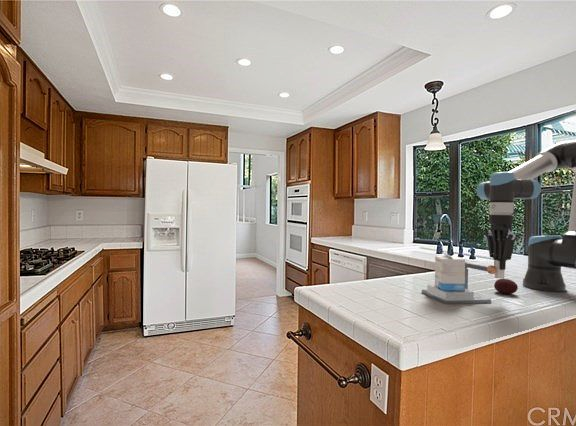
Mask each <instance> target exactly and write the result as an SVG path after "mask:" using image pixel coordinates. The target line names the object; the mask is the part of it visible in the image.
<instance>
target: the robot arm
mask: <svg viewBox="0 0 576 426" xmlns="http://www.w3.org/2000/svg"><path fill="white" fill-rule="evenodd" d="M567 168H570V171H572V172H573V173H574V180H573V181H574V182H573V188H572V195H571V196H572V199H571V206H570V212H569V222H568V230H567V231H566V232H565V233H562V235H558V234H557V235H553V234H552V235H534V236H530V237H529V239H528V245H527V249H528V251H527V268H526V272H525V275H524V278H523V279H522V286H523V287H525V288H529V289H534V290H539V291H544V292H545V291H547V292H564V291H565V292H566V290H567V285H566V283H565V280H564V278H563V274H562V268H567V269H574V270H576V138H574V139H573V138H572V139H568V140H564V141H560V142H558V143H555V144H553V145H551V146H549V147H547V148H545V149H543V150H541V151H540V152H538V153H536V155H534V157H533V158H532V159H530V160H528V161H526V162H524V163H523V164H520V165H519V166H516V167H515V168H513V169H511V170H509V171H499V172H498V171H497V172H493V173H491V174H490V178H489V179H490V180H489V181H482V182H481V183H479V184H478V185H477V187H476V194H477V196H478V198H479V199H481V200H488V201H489V210H488V211H489V216H488V224H489V225H491V226H490V228H489V230H488V231H485V233H484V234H485V236H486V239H487V246H488V247H487V248H488V253H489V257H490V258H492V260H493V261H494V263H493V264H494V265H493V266H495V267H496V269H497V271H496V273H495V274H494V279H505V270H506V262H507V261H511V259H512V255H513V251H514V247H515V244H516V243H515V242H516V240H517V238H518V234H514V233H513V230H512V226H513V225H514V215H512V214H514V210H515V209H514V205H515V204H514V201H515V200H532V199H536V198H537V197H539V195H540V194H541V192H542V185H541V184H540V182H539V180H536V179H535V178H537V177H540V176H541V175H543V174H544V173H550V172H553V171H556V170H559V169H567Z"/></svg>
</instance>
